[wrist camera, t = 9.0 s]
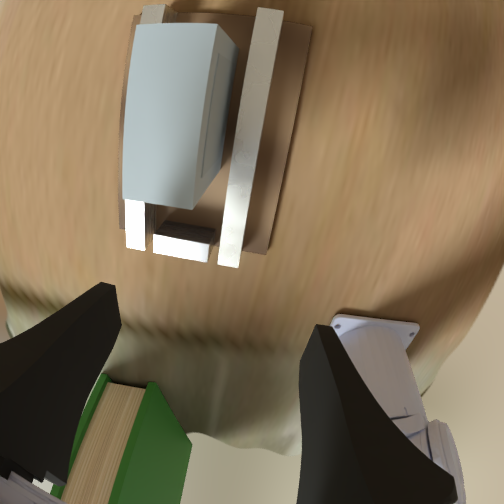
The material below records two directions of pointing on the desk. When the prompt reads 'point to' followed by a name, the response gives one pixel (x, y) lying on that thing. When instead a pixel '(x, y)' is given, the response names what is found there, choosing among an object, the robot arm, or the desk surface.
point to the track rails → (242, 163)
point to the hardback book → (126, 449)
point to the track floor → (272, 140)
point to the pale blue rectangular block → (176, 111)
